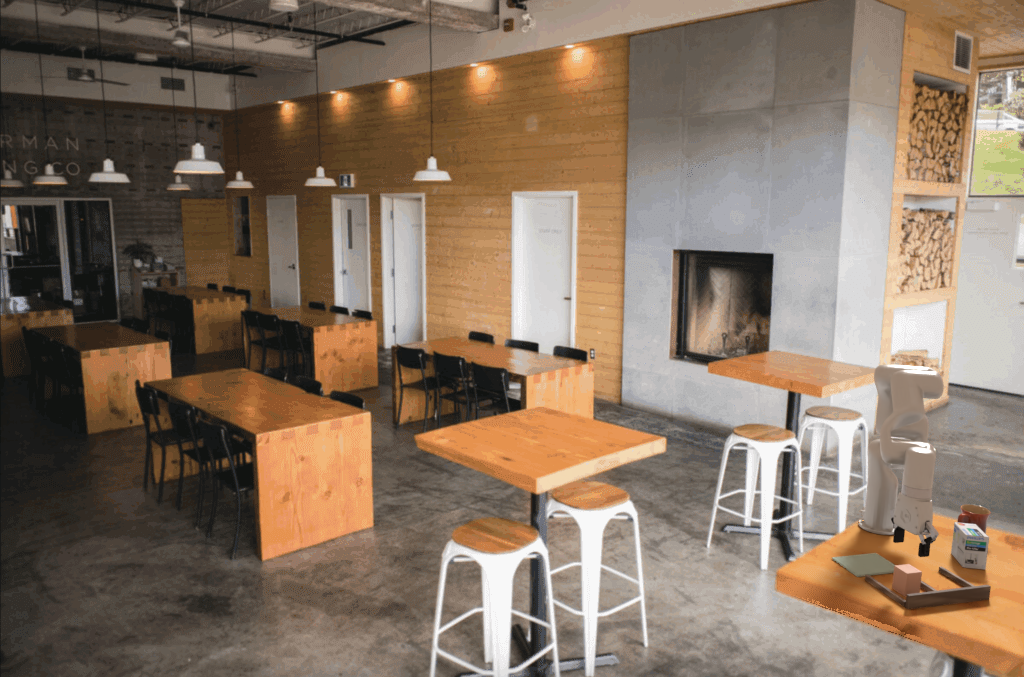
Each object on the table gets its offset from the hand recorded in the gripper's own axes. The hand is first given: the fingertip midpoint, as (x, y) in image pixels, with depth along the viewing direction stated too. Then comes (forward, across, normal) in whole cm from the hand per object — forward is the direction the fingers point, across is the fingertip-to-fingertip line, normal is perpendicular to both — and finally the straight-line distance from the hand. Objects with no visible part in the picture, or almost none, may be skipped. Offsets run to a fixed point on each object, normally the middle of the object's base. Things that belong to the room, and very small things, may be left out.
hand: (910, 549), depth 216 cm
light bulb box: (+13, -13, +34) cm, 39 cm away
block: (+13, -1, 0) cm, 13 cm away
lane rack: (+13, -1, +7) cm, 15 cm away
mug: (+12, -27, +48) cm, 56 cm away
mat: (+13, -17, 0) cm, 21 cm away
